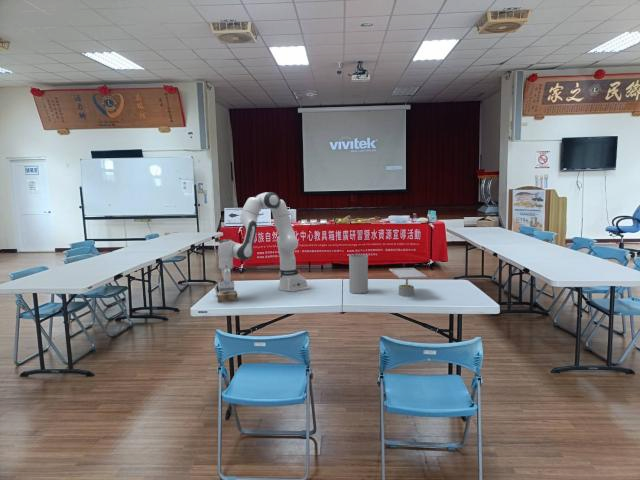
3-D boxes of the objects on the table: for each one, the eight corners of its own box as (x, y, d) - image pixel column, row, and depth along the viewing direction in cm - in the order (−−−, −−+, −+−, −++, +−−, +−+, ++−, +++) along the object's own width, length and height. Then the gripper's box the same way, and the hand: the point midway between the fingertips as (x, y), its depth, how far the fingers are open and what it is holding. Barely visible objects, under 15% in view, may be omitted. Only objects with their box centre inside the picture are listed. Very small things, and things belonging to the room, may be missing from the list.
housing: (233, 288, 282) (233, 279, 281) (234, 290, 277) (233, 280, 277) (219, 289, 279) (219, 280, 278) (220, 291, 275) (219, 281, 274)
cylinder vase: (371, 291, 296) (371, 255, 293) (361, 295, 286) (361, 257, 283) (355, 288, 304) (355, 253, 300) (345, 292, 294) (345, 256, 290)
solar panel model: (426, 299, 273) (427, 276, 271) (400, 300, 271) (400, 277, 269) (413, 289, 300) (413, 267, 298) (388, 290, 299) (389, 268, 297)
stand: (236, 297, 285) (235, 290, 284) (237, 300, 277) (237, 293, 276) (217, 299, 281) (217, 291, 281) (218, 302, 274) (218, 294, 273)
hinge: (224, 297, 286) (218, 283, 285) (218, 299, 287) (212, 285, 287) (234, 291, 302) (229, 278, 302) (228, 293, 303) (223, 280, 303)
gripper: (232, 267, 267) (233, 289, 269) (229, 261, 287) (230, 282, 288) (222, 267, 265) (223, 290, 267) (219, 262, 285) (220, 283, 287)
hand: (226, 285), depth 278 cm, fingers closed on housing, 5 cm apart
